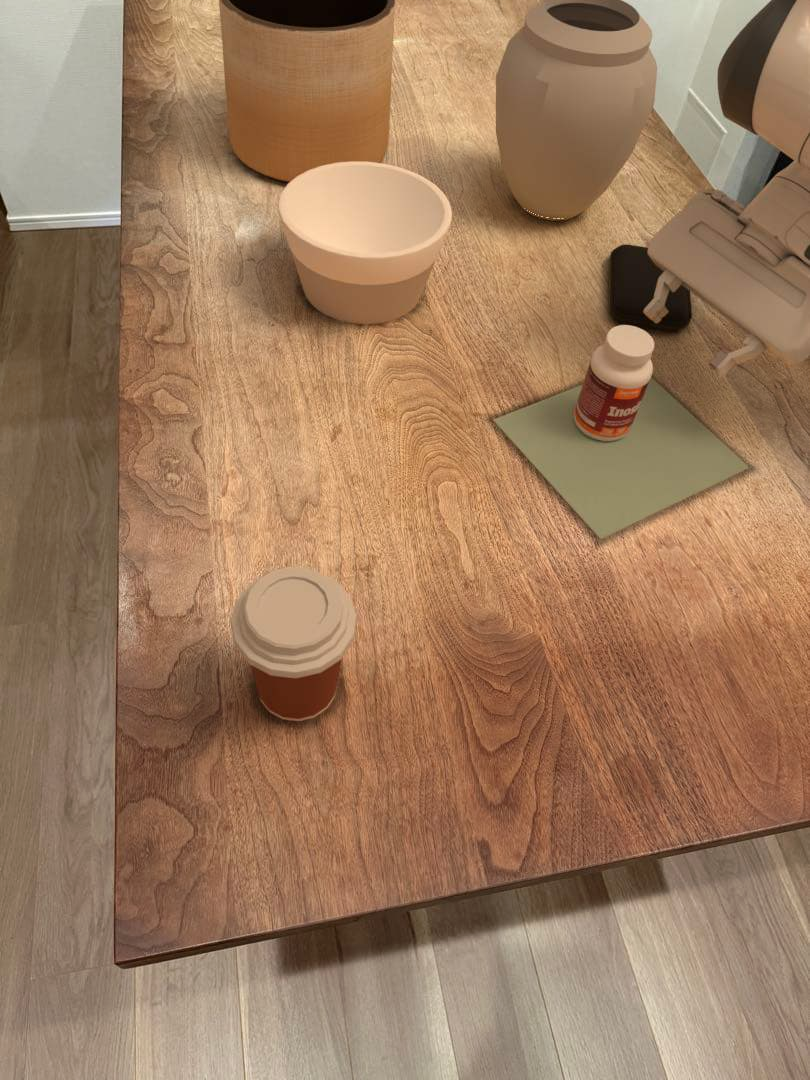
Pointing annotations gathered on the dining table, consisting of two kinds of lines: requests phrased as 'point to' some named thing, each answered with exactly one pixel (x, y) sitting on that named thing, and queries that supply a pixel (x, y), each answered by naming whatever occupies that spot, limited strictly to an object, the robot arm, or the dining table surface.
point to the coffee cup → (294, 638)
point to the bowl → (364, 237)
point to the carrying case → (643, 291)
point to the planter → (307, 82)
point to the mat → (621, 458)
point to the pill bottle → (615, 383)
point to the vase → (572, 102)
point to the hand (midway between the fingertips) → (681, 343)
